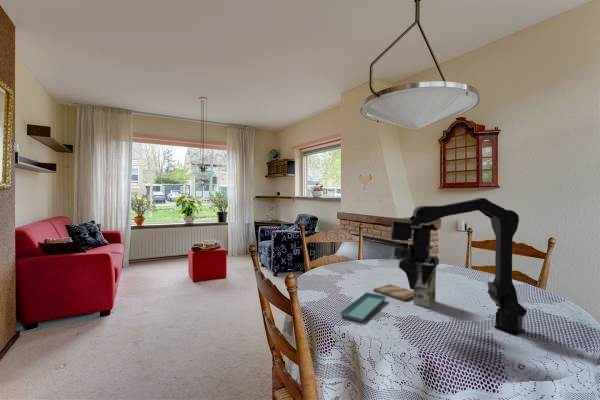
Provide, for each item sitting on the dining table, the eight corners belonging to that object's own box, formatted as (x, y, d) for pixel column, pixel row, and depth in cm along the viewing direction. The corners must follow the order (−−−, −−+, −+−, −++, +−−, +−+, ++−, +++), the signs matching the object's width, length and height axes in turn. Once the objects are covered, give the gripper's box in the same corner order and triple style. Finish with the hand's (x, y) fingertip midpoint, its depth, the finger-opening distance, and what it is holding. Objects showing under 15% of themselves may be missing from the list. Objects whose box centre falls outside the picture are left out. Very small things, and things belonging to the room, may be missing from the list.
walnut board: (420, 295, 130) (420, 292, 130) (404, 301, 123) (404, 298, 123) (389, 286, 143) (389, 284, 143) (373, 291, 136) (373, 288, 136)
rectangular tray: (362, 324, 103) (362, 317, 103) (339, 318, 108) (339, 311, 108) (386, 302, 124) (386, 296, 124) (366, 297, 130) (366, 292, 129)
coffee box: (429, 307, 117) (429, 267, 116) (413, 304, 121) (413, 264, 120) (435, 301, 124) (436, 263, 123) (420, 297, 128) (420, 261, 128)
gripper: (411, 237, 115) (408, 276, 115) (386, 240, 102) (383, 285, 102) (441, 241, 107) (438, 284, 107) (417, 246, 94) (414, 294, 94)
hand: (418, 286), depth 103 cm, fingers open, 9 cm apart
